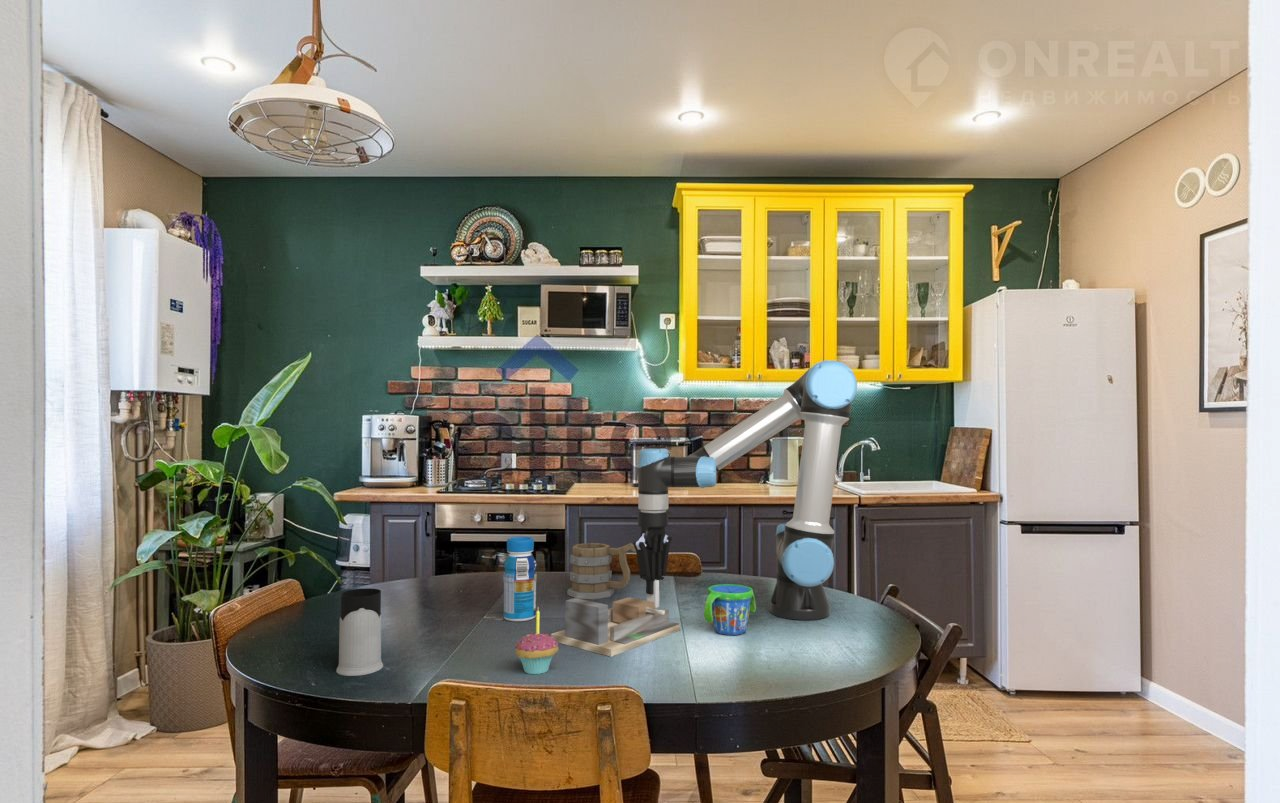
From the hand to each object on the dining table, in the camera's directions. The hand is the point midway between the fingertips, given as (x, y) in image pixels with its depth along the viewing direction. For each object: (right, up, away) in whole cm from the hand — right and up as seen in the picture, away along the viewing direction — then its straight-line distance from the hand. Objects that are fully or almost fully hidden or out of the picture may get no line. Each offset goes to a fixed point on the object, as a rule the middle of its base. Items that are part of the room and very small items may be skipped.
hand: (653, 606), depth 175 cm
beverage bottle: (-34, -4, +4) cm, 34 cm away
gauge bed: (-8, -4, -11) cm, 14 cm away
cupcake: (-24, -3, -35) cm, 42 cm away
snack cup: (+18, -4, -8) cm, 20 cm away
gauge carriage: (-3, -2, -8) cm, 8 cm away
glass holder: (-60, -3, -31) cm, 68 cm away
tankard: (-14, -5, +29) cm, 33 cm away
